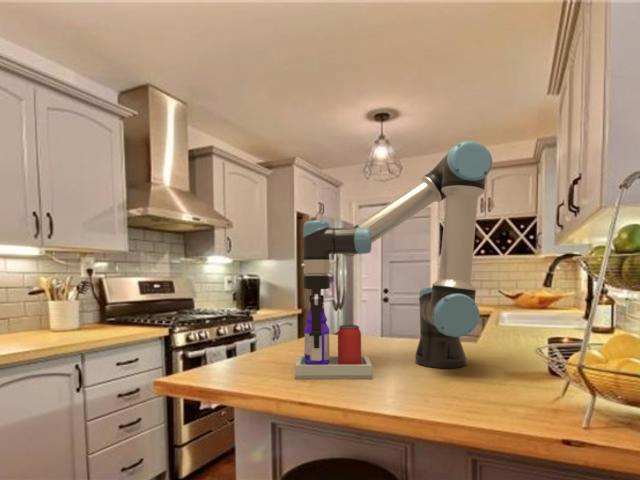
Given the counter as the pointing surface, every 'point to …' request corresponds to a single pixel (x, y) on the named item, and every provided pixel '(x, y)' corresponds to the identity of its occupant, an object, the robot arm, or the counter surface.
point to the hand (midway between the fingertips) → (317, 357)
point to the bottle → (325, 341)
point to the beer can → (349, 345)
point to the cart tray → (333, 370)
